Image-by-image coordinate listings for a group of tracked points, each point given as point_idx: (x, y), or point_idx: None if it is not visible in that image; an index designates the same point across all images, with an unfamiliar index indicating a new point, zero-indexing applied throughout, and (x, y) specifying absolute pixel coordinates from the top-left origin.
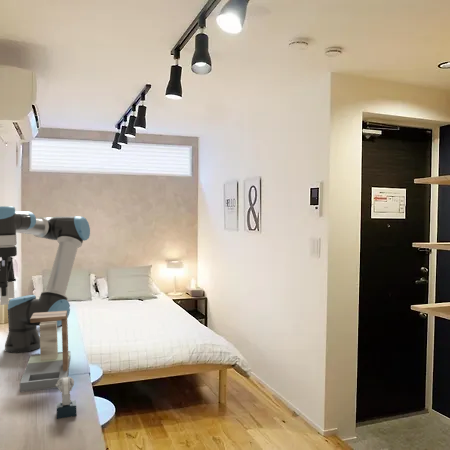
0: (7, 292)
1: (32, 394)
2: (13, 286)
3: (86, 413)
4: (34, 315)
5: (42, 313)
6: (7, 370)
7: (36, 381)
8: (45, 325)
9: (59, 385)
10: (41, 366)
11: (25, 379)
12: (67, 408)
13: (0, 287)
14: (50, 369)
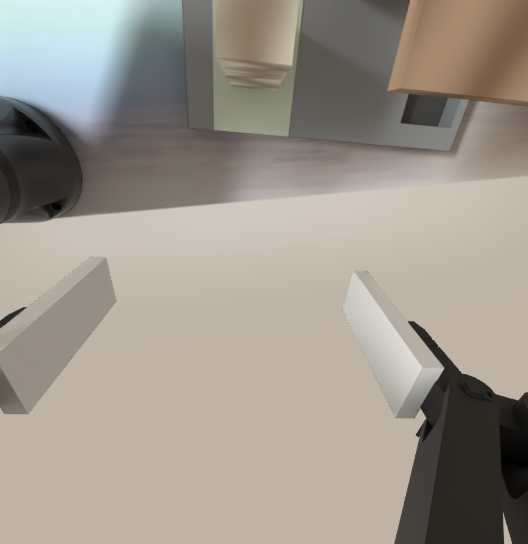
0: (409, 329)
1: (474, 115)
2: (42, 317)
3: None
4: (497, 76)
5: (472, 2)
6: (249, 193)
7: (467, 102)
8: (295, 24)
9: None
10: (337, 87)
11: (431, 136)
12: None
13: (416, 414)
14: (386, 52)
